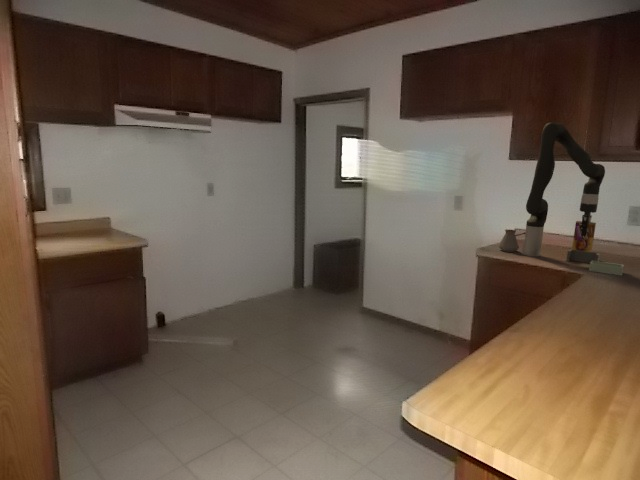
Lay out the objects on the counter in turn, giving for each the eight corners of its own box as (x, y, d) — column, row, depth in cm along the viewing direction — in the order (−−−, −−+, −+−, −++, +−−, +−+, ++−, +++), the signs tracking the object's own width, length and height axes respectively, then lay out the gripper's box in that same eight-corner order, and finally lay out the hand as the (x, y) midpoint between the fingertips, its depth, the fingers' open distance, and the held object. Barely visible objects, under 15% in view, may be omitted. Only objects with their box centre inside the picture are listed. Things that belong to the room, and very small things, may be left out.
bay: (566, 261, 236) (567, 251, 235) (568, 259, 242) (569, 249, 241) (596, 266, 227) (598, 255, 226) (598, 263, 233) (600, 252, 232)
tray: (588, 270, 216) (589, 263, 215) (590, 267, 222) (591, 260, 222) (621, 275, 208) (622, 267, 207) (622, 272, 214) (623, 264, 214)
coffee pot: (497, 251, 260) (499, 226, 257) (499, 248, 270) (501, 224, 267) (536, 255, 250) (539, 230, 247) (536, 252, 260) (539, 228, 257)
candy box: (591, 250, 226) (596, 222, 223) (591, 252, 222) (595, 223, 219) (572, 248, 231) (576, 220, 228) (571, 249, 227) (575, 221, 224)
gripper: (582, 201, 229) (577, 232, 233) (578, 202, 218) (573, 235, 222) (599, 202, 225) (593, 234, 228) (596, 204, 214) (590, 237, 217)
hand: (584, 235), depth 225 cm, fingers closed on candy box, 4 cm apart
